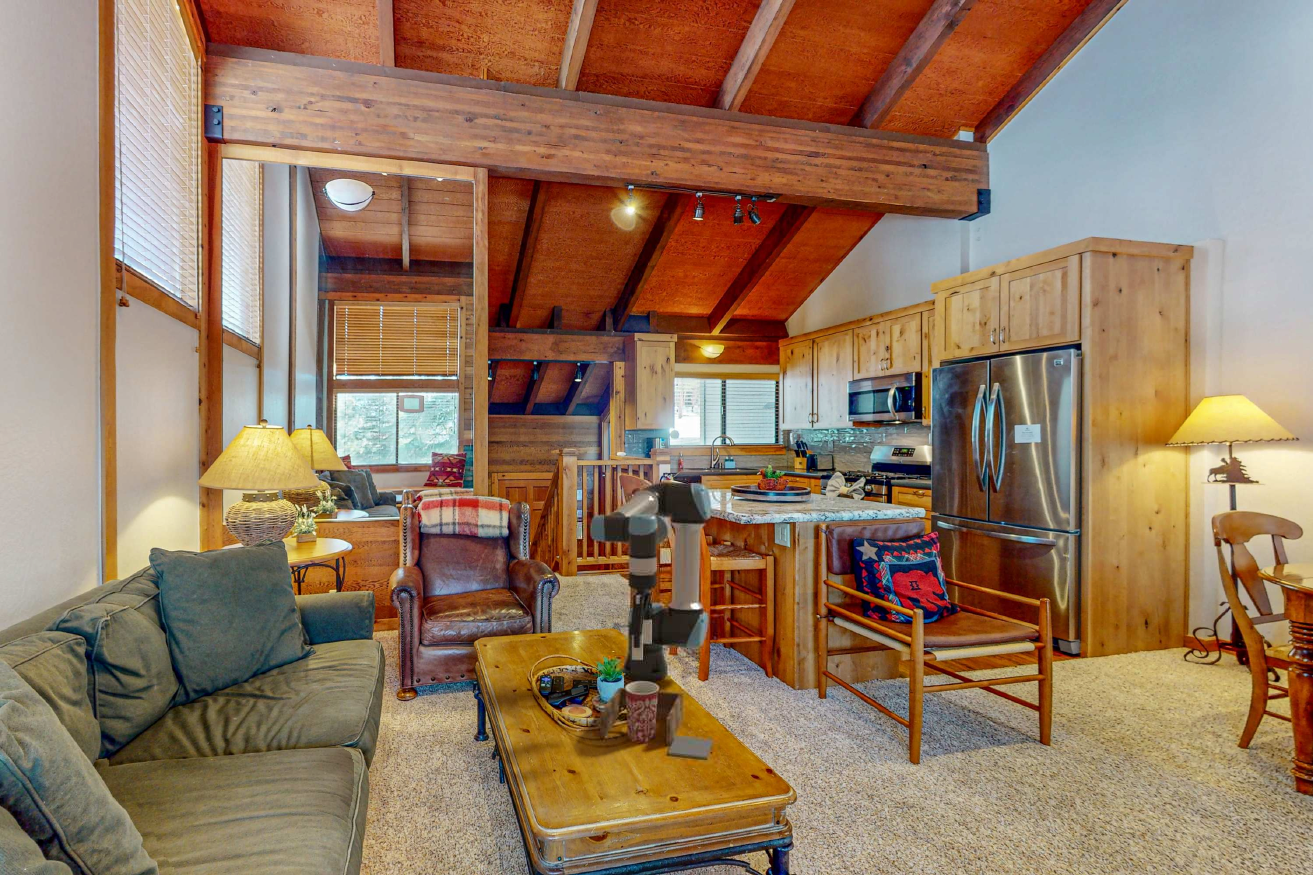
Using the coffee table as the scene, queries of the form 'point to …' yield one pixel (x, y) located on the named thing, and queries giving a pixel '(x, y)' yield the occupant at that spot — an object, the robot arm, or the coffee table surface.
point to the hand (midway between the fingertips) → (642, 651)
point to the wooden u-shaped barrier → (666, 707)
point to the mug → (641, 711)
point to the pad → (690, 747)
